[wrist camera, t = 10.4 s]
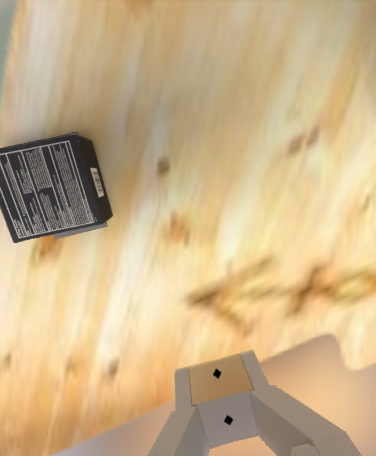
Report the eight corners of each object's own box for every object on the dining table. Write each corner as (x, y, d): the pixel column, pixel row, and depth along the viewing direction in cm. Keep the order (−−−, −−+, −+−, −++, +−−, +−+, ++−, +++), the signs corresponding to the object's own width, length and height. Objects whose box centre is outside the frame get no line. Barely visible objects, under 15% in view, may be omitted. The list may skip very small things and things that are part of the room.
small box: (93, 139, 32) (12, 154, 31) (75, 130, 26) (-26, 149, 25) (114, 216, 34) (39, 231, 34) (102, 226, 28) (10, 245, 27)
